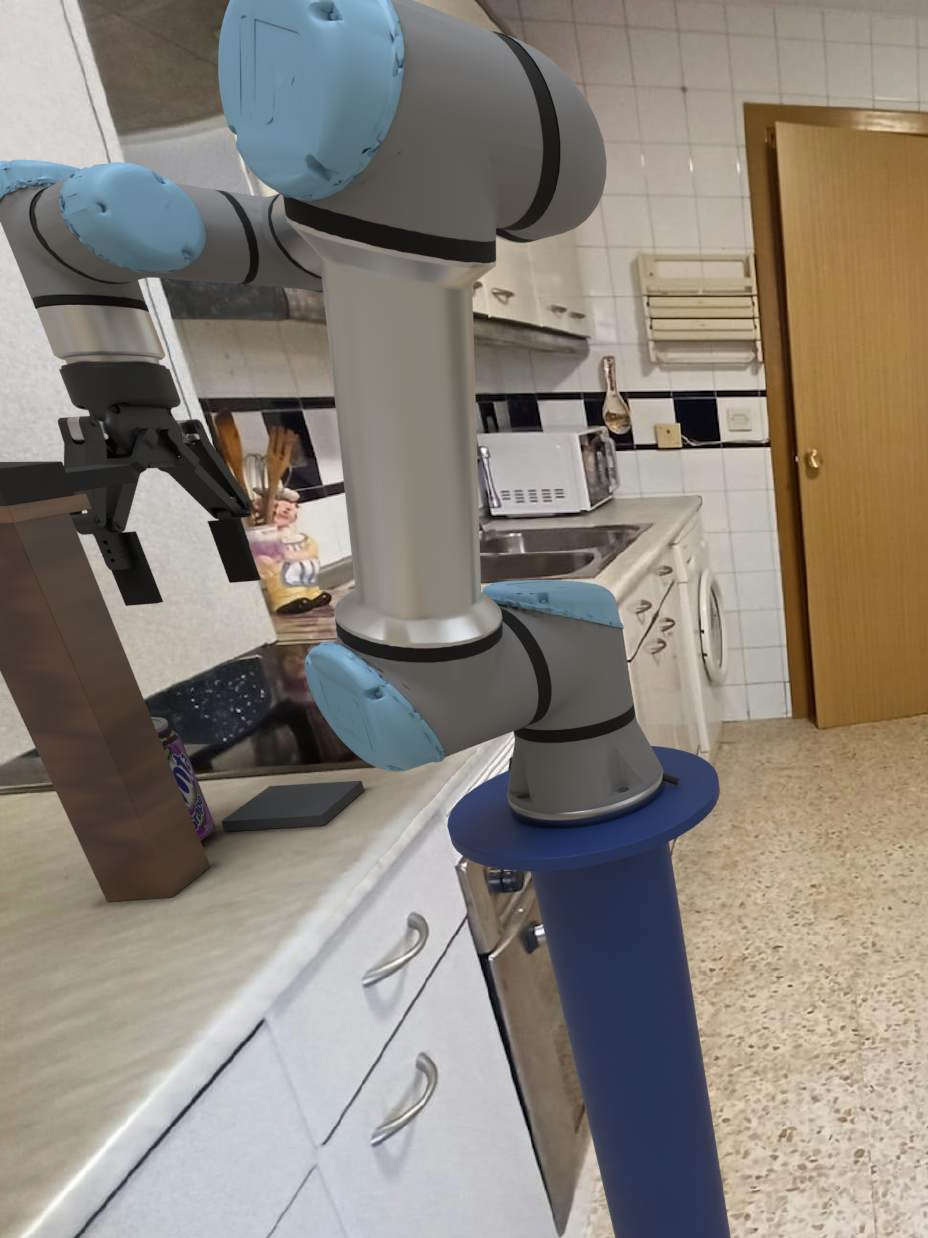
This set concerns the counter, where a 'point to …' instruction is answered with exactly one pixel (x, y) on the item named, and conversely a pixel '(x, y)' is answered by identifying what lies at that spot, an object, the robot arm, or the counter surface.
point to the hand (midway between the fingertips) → (198, 592)
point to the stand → (88, 708)
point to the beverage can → (185, 778)
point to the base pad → (293, 806)
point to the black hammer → (56, 480)
